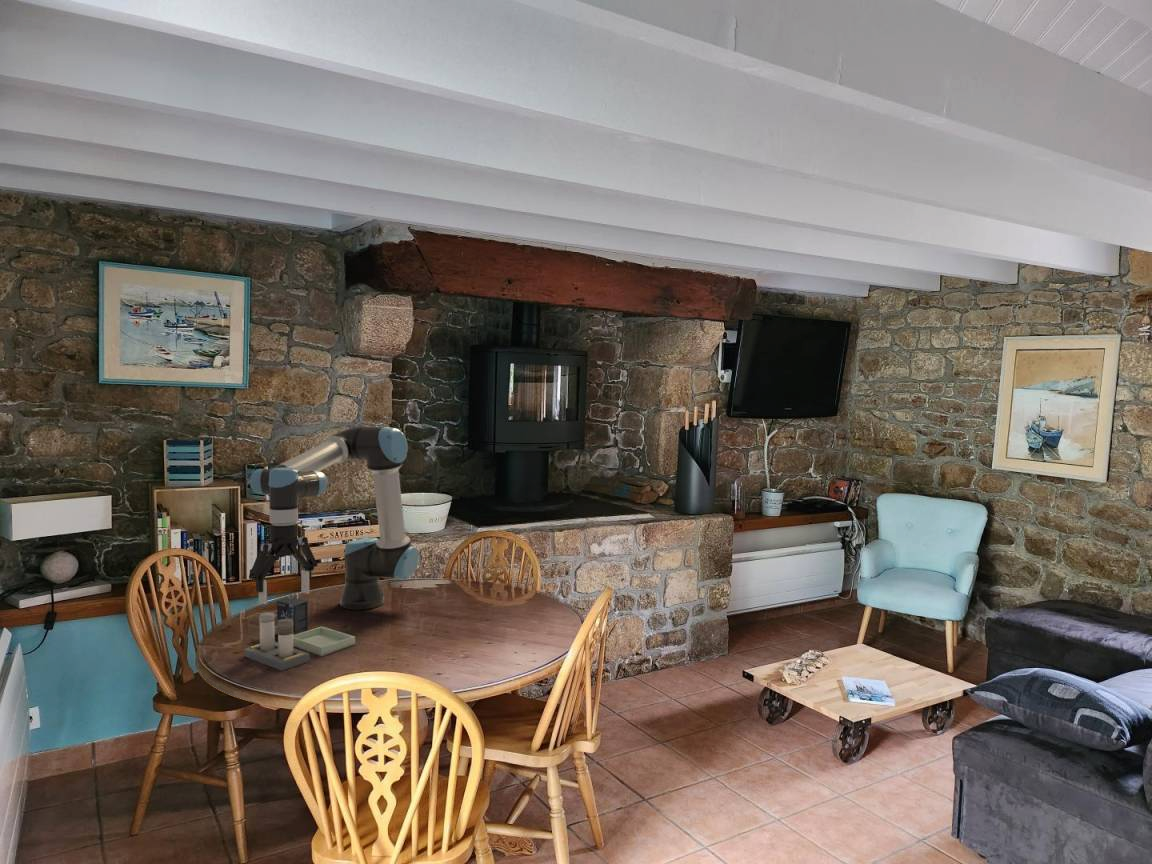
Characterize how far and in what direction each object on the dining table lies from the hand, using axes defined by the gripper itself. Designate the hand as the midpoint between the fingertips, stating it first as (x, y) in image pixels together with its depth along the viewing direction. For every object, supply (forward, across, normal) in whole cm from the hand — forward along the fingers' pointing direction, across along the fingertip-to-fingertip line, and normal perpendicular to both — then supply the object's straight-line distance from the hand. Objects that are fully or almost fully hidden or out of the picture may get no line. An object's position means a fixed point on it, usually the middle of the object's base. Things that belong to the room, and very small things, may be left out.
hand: (284, 597), depth 218 cm
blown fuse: (+19, 0, 0) cm, 19 cm away
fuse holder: (+19, 0, -5) cm, 19 cm away
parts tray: (+18, -15, -4) cm, 24 cm away
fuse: (+19, 0, -9) cm, 21 cm away
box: (+19, -16, -20) cm, 32 cm away
